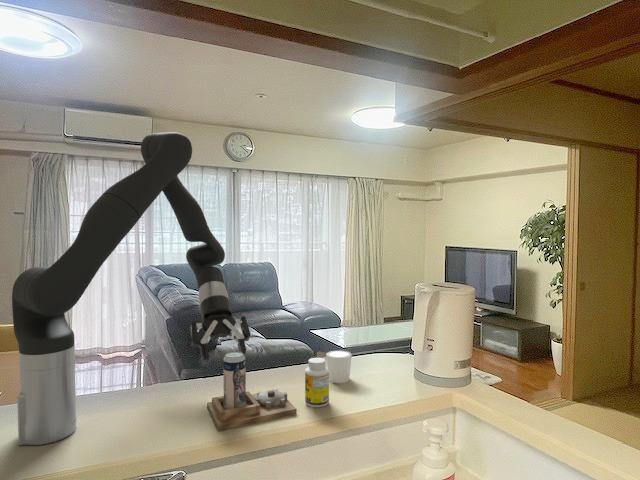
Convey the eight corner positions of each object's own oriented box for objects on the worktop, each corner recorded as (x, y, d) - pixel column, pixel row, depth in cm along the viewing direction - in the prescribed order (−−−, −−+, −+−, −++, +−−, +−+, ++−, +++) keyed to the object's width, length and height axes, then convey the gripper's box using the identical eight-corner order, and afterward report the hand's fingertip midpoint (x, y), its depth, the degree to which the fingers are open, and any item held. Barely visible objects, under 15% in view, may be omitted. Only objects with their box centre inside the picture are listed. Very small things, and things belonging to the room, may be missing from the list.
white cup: (352, 384, 109) (352, 357, 109) (326, 384, 109) (326, 357, 109) (350, 374, 116) (350, 350, 116) (326, 374, 116) (326, 349, 116)
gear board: (219, 431, 84) (219, 414, 84) (207, 407, 95) (206, 393, 95) (296, 414, 92) (296, 398, 92) (277, 394, 102) (277, 380, 102)
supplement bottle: (305, 398, 100) (305, 356, 100) (328, 398, 100) (328, 356, 100) (305, 408, 94) (305, 364, 94) (329, 408, 95) (329, 363, 94)
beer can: (240, 414, 89) (240, 358, 89) (220, 412, 90) (219, 357, 90) (249, 404, 94) (248, 351, 93) (229, 402, 95) (228, 350, 94)
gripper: (188, 296, 104) (196, 354, 95) (243, 292, 111) (257, 346, 101) (185, 313, 109) (193, 370, 100) (238, 308, 116) (250, 361, 106)
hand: (225, 357), depth 100 cm, fingers open, 8 cm apart
